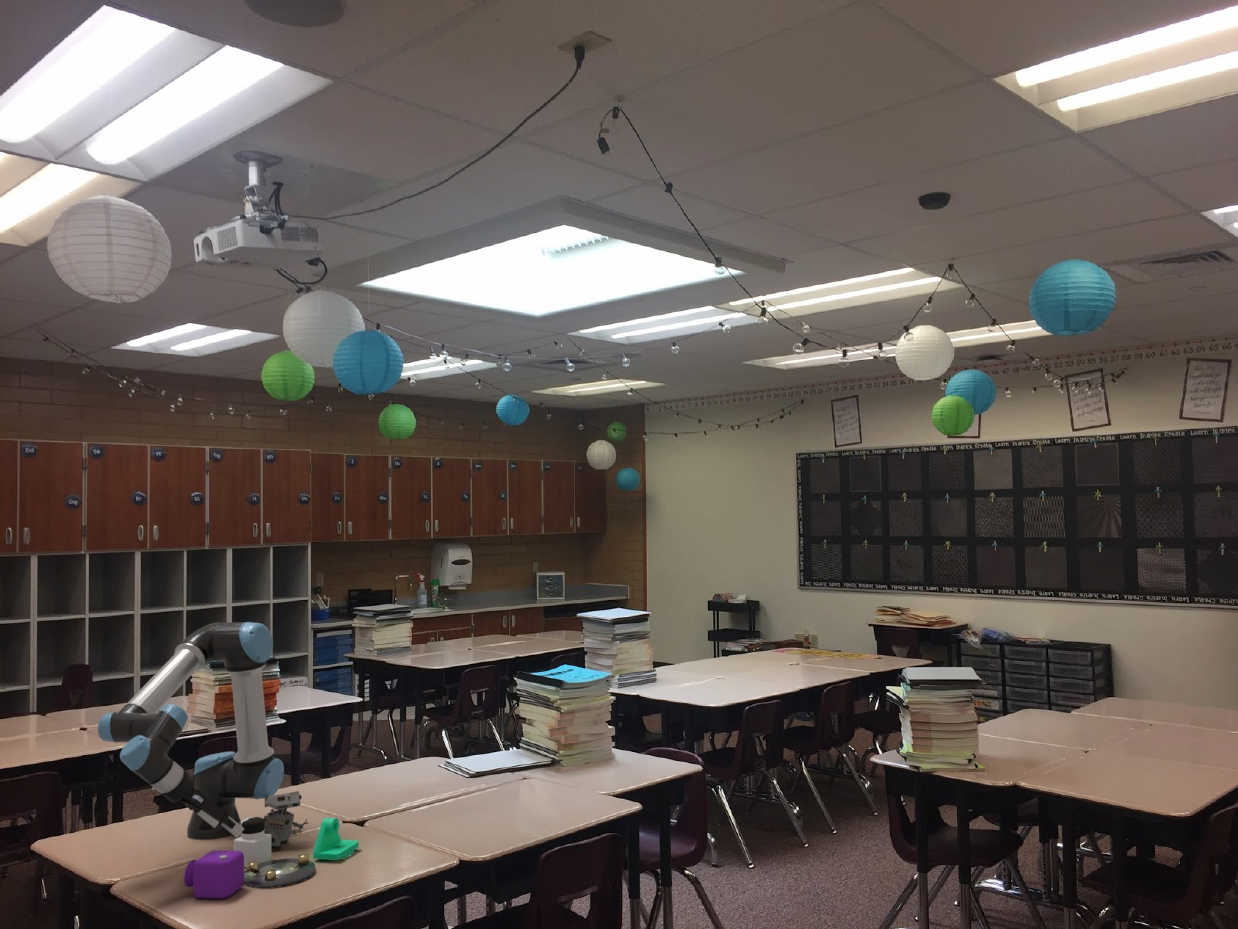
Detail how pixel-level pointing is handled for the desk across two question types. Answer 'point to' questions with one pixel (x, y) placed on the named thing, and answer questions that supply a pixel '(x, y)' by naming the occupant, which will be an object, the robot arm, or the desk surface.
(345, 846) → the camera mount
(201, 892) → the toy camera
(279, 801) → the figurine
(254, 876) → the plate
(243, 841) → the medicine bottle
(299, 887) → the desk surface
